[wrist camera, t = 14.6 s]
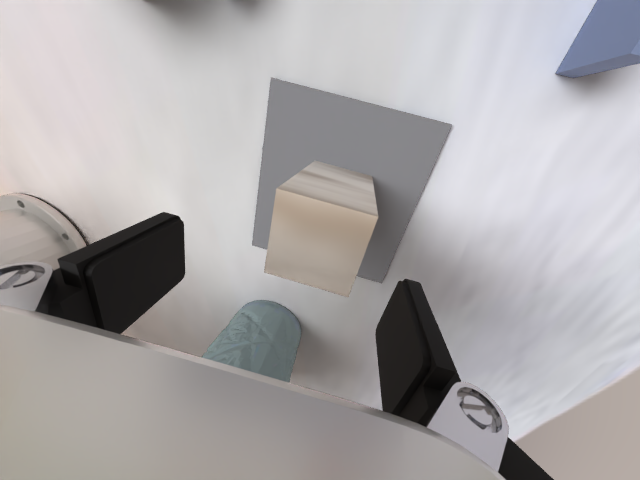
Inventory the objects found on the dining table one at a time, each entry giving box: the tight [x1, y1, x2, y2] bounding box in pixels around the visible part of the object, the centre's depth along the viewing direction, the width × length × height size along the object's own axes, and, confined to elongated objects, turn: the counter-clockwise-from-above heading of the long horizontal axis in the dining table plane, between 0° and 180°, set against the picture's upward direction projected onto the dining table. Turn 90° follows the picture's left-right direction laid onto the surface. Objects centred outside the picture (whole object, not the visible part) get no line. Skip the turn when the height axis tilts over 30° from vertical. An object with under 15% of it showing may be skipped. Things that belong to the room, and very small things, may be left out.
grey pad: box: [252, 78, 452, 283], centre depth 21 cm, size 15×14×1 cm
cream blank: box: [264, 161, 378, 297], centre depth 17 cm, size 5×5×10 cm
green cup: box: [202, 300, 301, 383], centre depth 25 cm, size 10×10×12 cm
